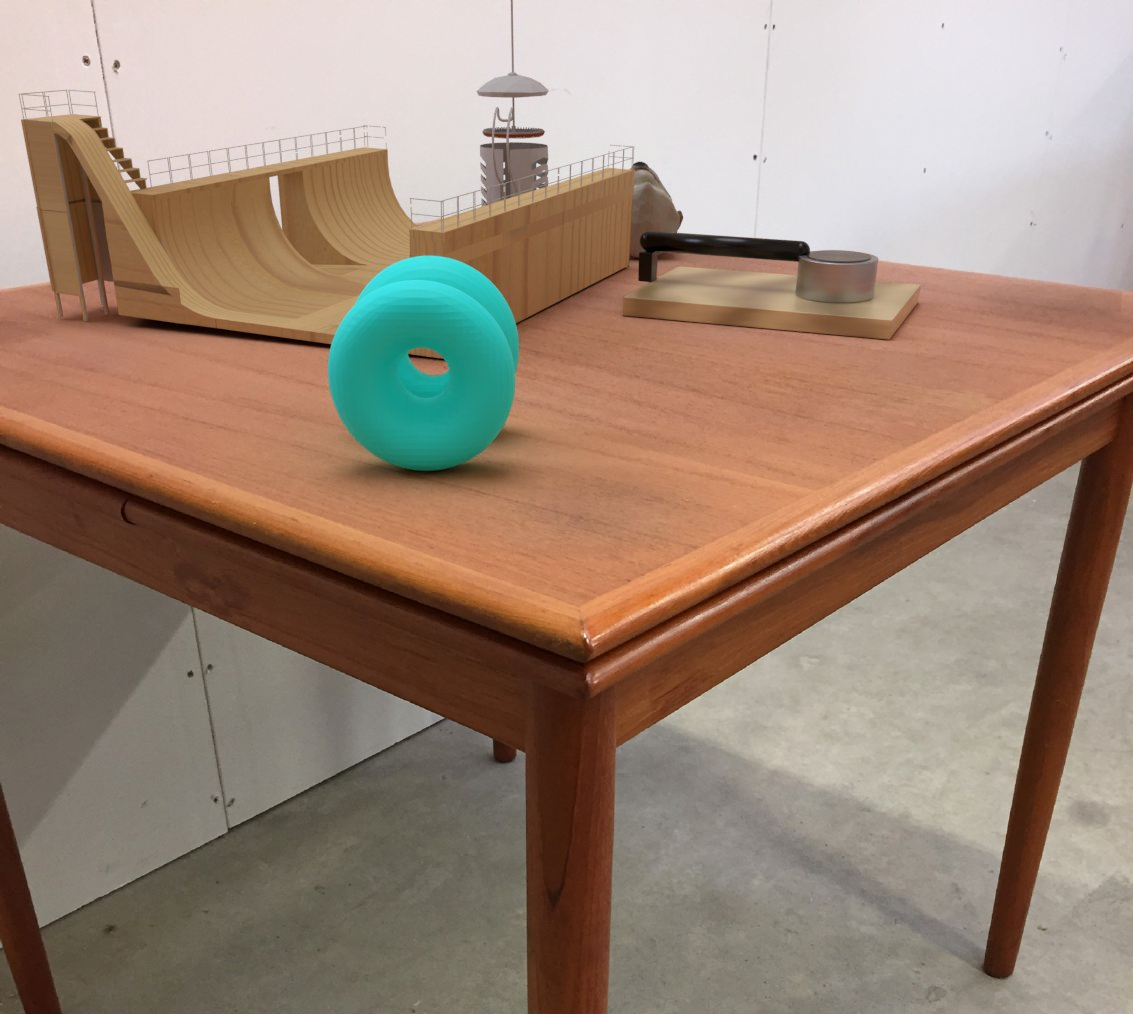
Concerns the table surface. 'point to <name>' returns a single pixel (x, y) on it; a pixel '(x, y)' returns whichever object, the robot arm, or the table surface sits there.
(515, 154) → the bird feeder
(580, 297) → the table surface
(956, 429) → the table surface
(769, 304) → the cutting board
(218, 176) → the skate ramp
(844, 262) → the saucepan
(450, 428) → the donuts
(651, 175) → the ceramic sculpture
